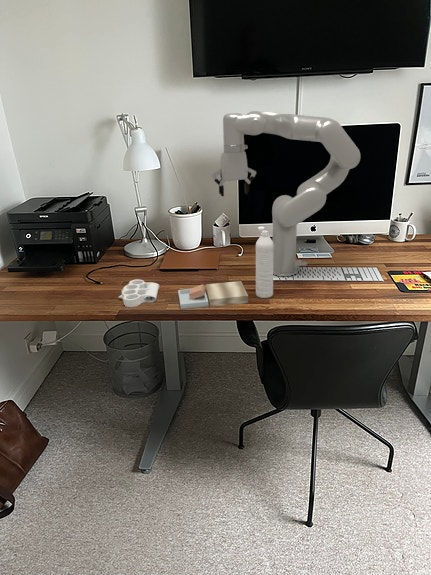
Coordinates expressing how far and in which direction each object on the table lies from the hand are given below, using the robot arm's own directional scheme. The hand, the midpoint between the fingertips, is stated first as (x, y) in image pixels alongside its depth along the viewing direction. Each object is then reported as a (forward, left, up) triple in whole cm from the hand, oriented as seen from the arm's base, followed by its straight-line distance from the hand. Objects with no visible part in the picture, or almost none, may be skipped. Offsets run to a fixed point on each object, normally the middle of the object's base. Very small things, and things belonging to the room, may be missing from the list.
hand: (234, 194), depth 174 cm
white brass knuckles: (+40, +13, -34) cm, 54 cm away
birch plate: (+8, +22, -33) cm, 40 cm away
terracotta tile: (+18, +20, -32) cm, 41 cm away
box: (+20, +22, -33) cm, 44 cm away
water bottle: (-7, +21, -33) cm, 40 cm away
